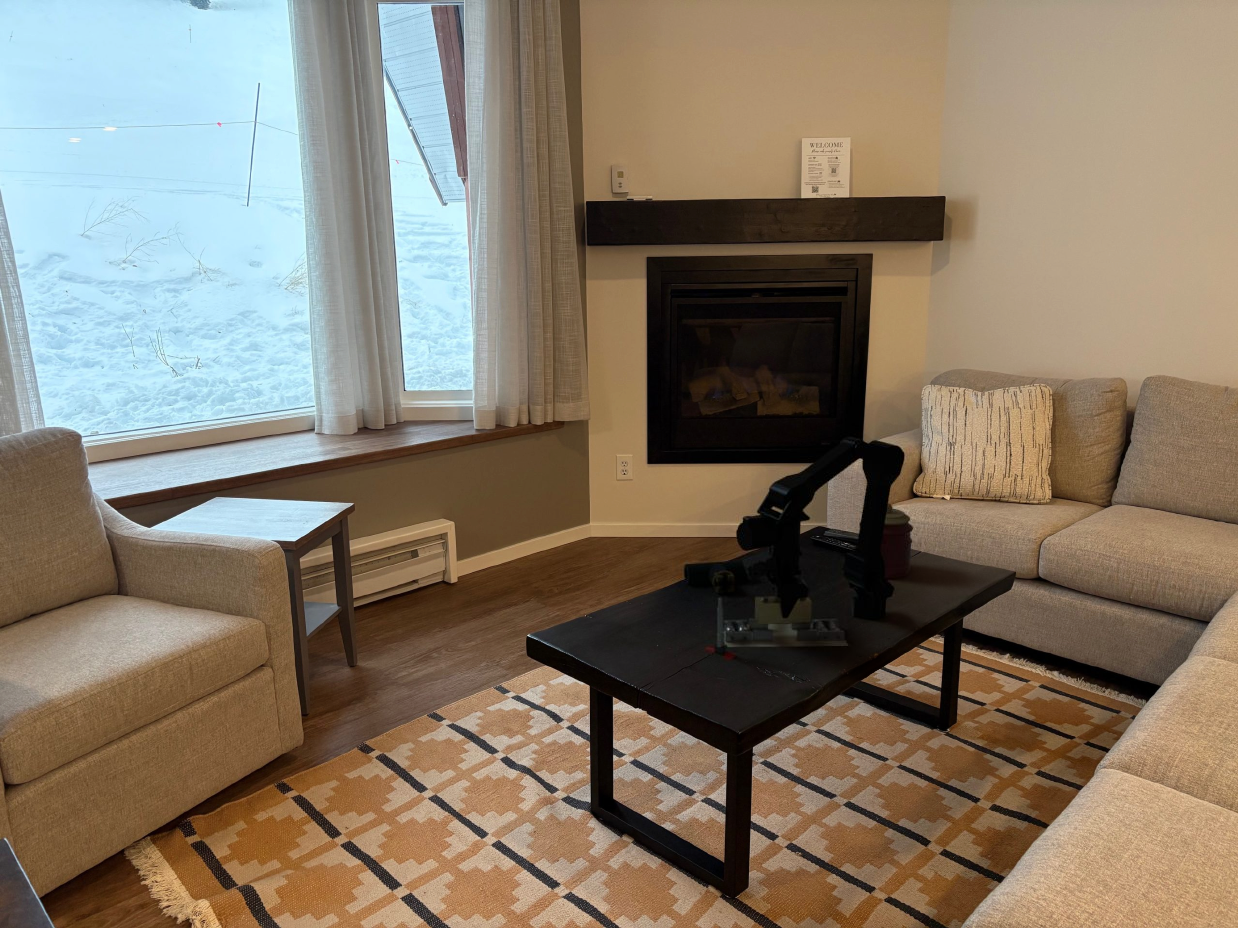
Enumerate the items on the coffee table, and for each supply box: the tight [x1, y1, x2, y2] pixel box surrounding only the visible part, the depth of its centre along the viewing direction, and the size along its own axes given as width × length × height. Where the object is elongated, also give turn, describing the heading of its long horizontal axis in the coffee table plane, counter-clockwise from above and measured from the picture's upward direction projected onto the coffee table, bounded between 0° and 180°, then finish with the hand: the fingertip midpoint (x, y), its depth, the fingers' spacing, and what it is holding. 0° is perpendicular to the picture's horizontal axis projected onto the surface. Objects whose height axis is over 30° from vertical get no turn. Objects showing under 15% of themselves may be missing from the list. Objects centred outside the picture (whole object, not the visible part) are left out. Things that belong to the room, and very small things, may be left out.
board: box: [724, 623, 850, 648], centre depth 186 cm, size 25×11×1 cm, turn 90°
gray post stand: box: [705, 597, 738, 660], centre depth 174 cm, size 8×13×9 cm
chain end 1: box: [723, 617, 773, 642], centre depth 186 cm, size 10×7×2 cm
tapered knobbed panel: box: [754, 595, 813, 624], centre depth 185 cm, size 11×4×5 cm, turn 94°
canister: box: [858, 502, 914, 579], centre depth 223 cm, size 13×13×18 cm
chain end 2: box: [790, 618, 846, 641], centre depth 186 cm, size 10×7×2 cm
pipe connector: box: [683, 559, 749, 594], centre depth 216 cm, size 12×5×15 cm
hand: (783, 613), depth 185 cm, fingers closed on tapered knobbed panel, 4 cm apart
